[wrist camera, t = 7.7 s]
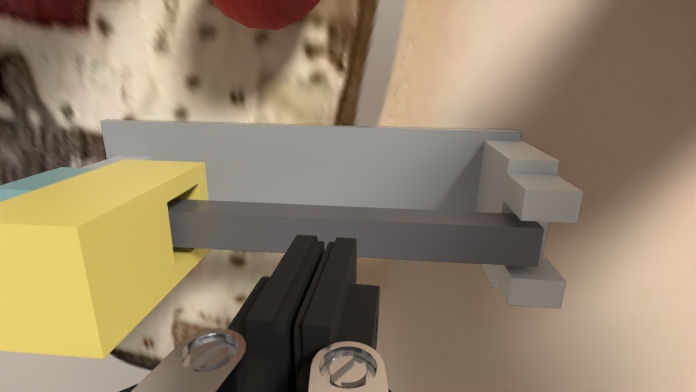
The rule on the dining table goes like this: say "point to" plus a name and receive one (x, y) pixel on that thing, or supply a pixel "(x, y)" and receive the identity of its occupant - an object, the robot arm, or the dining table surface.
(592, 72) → the dining table surface
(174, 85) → the dining table surface
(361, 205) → the grey long frame
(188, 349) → the robot arm
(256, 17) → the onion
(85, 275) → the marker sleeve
